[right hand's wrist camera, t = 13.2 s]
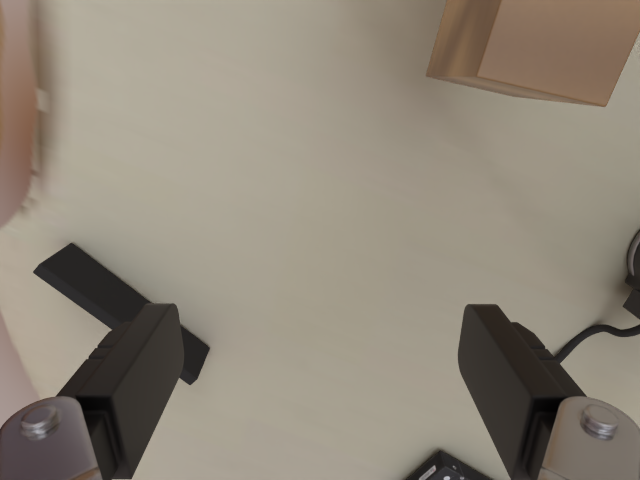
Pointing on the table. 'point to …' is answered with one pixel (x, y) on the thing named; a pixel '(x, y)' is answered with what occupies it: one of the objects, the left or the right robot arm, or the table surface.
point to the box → (537, 47)
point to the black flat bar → (109, 299)
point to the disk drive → (446, 470)
